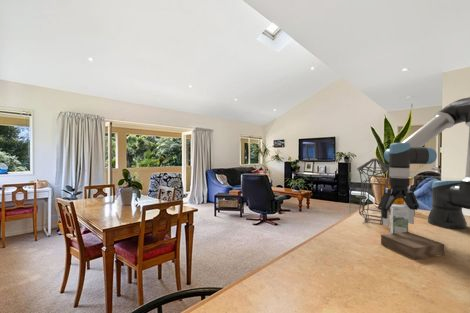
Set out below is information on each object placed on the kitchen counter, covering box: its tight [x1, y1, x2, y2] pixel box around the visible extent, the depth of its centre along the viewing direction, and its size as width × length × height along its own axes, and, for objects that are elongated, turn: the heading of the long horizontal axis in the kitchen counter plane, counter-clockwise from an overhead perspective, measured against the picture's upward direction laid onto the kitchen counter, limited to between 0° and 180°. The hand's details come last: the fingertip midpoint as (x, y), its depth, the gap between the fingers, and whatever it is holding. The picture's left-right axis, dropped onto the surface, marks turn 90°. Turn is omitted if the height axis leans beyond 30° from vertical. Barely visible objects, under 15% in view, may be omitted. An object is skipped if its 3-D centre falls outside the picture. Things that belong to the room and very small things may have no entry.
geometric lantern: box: [356, 157, 391, 225], centre depth 127 cm, size 16×16×35 cm
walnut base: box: [380, 231, 445, 260], centre depth 91 cm, size 14×14×4 cm
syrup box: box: [389, 203, 409, 234], centre depth 104 cm, size 6×6×14 cm
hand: (398, 224), depth 104 cm, fingers open, 13 cm apart
